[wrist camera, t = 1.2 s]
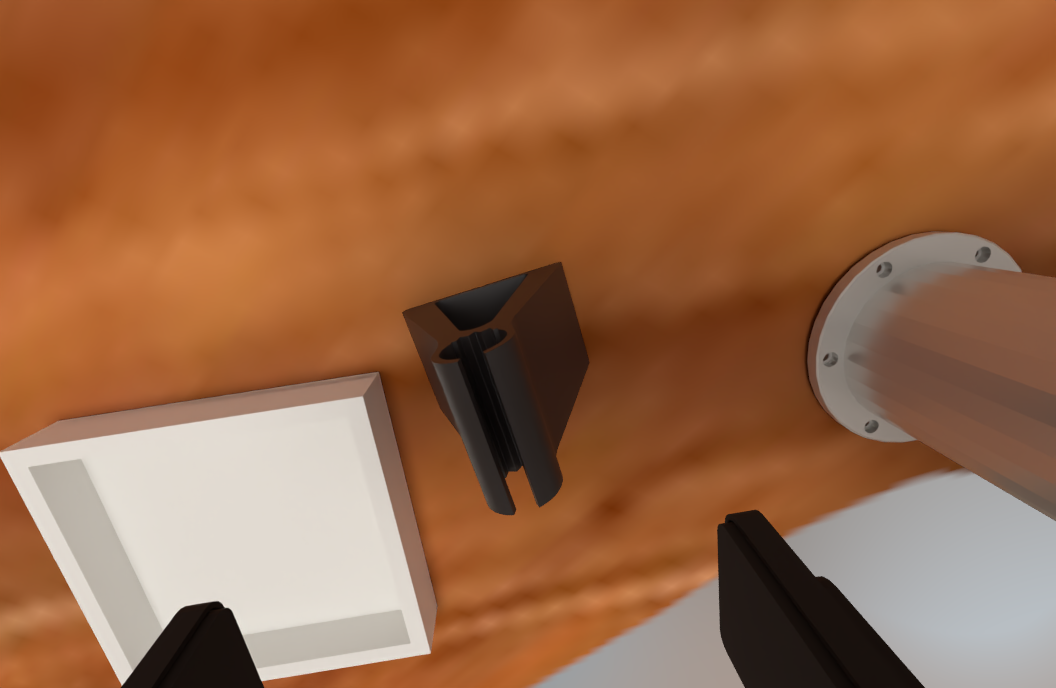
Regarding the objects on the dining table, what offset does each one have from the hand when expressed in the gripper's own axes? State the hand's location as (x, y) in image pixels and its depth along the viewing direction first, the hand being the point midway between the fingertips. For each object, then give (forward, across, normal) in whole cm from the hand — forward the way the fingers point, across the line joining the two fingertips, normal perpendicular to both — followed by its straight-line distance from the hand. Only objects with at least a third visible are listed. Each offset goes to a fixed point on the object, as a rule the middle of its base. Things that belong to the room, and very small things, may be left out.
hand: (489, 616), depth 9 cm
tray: (+19, +16, +10) cm, 26 cm away
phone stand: (+19, 0, 0) cm, 19 cm away
